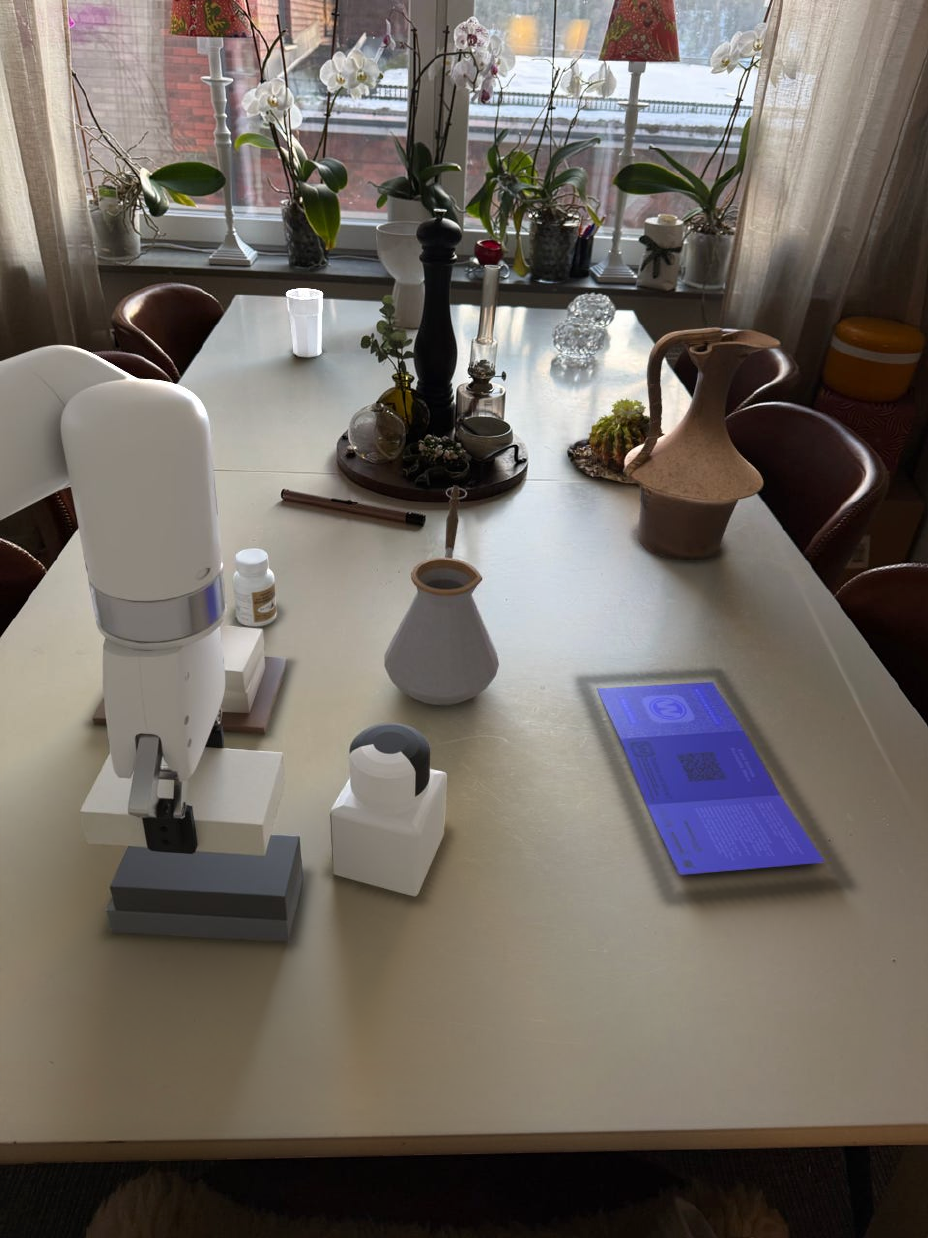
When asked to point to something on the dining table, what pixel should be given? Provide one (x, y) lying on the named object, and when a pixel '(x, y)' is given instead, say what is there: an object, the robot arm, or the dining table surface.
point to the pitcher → (694, 450)
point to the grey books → (209, 892)
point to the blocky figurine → (389, 810)
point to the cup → (305, 321)
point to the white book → (198, 802)
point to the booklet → (704, 780)
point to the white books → (242, 682)
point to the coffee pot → (443, 630)
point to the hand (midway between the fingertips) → (189, 805)
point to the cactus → (612, 441)
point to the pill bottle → (254, 588)
